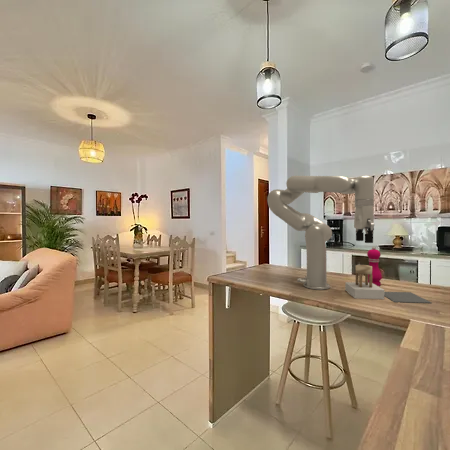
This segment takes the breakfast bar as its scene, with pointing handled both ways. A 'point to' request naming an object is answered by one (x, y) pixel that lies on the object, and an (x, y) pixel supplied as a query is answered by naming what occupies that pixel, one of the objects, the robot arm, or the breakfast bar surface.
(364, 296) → the step
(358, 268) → the stool
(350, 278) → the breakfast bar surface
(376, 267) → the pepper mill
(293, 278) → the breakfast bar surface
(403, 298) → the mat
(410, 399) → the breakfast bar surface
